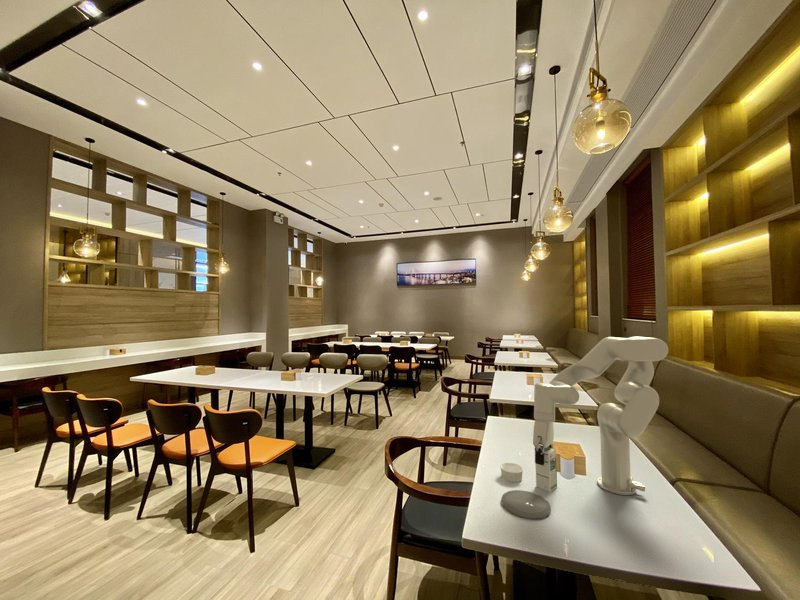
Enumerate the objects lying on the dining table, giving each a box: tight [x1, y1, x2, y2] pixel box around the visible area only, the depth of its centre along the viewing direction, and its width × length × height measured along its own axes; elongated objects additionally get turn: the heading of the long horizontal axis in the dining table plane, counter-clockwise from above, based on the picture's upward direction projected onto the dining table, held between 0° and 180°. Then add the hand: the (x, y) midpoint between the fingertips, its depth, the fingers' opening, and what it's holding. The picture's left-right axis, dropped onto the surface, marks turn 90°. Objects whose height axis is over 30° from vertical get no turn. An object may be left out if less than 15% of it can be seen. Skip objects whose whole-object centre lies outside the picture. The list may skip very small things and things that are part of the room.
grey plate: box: [501, 489, 552, 521], centre depth 115 cm, size 16×16×1 cm
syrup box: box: [534, 447, 558, 493], centre depth 128 cm, size 6×6×14 cm
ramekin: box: [499, 462, 524, 483], centre depth 135 cm, size 9×9×4 cm
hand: (543, 460), depth 128 cm, fingers open, 9 cm apart
